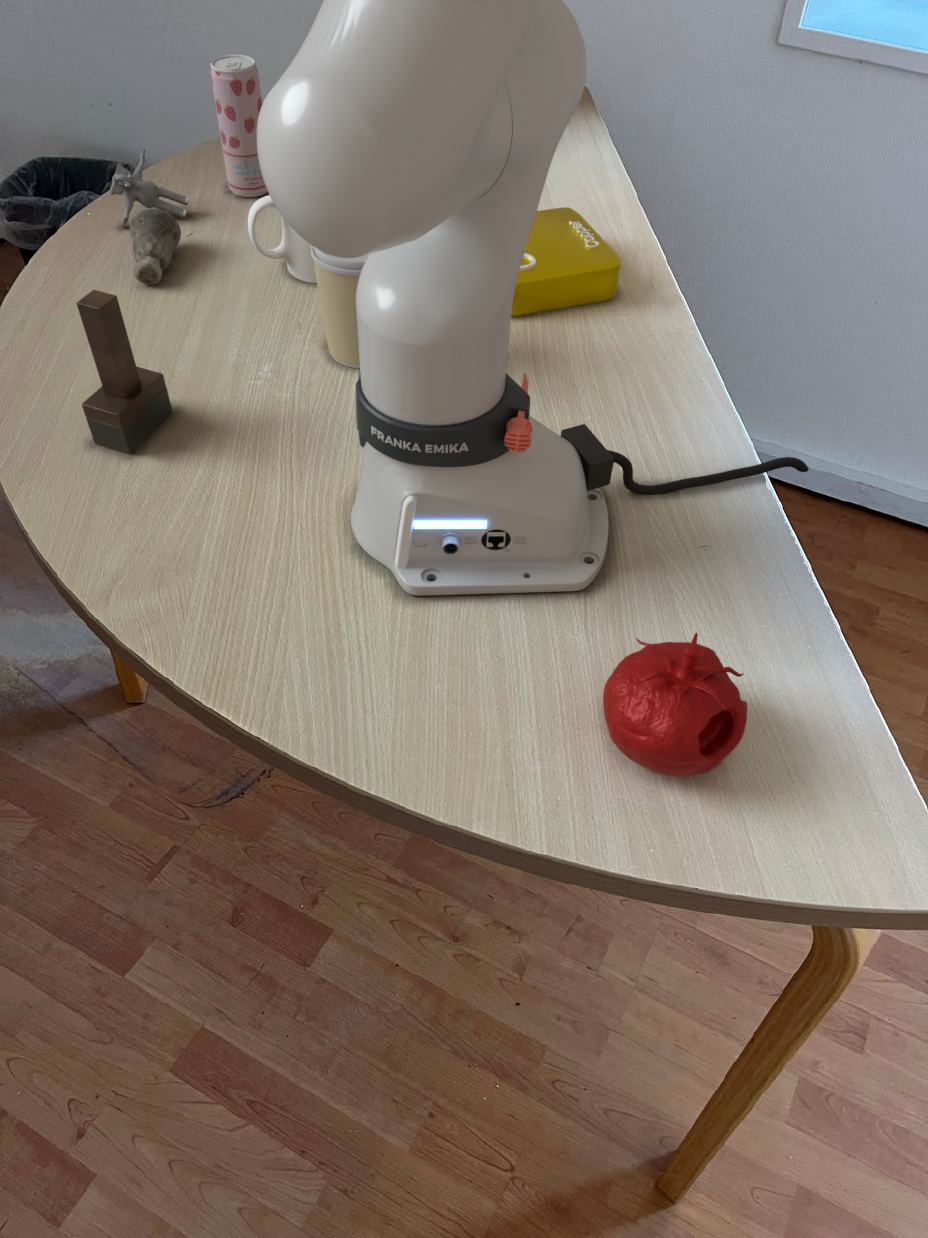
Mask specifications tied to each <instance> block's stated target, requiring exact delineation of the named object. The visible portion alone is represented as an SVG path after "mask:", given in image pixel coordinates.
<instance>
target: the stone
mask: <svg viewBox="0 0 928 1238" xmlns="http://www.w3.org/2000/svg"><path fill="white" fill-rule="evenodd" d="M128 227H129V233H130V236H131V239H132V241H131V242H132V249H133V255H134V259H135V262H136V264H135V266H134V270H133V271H134V272H133V274H134V278H135V279H136V280H137V281H138V282H139V283H141V284H143V285H147V286H154V285H157V284H159V283H160V281H161V280H162V279H163V278H162V277H163V271H164V270H166V268H168V267H169V265H170V264H171V261H172V258H173V254H174V253H173V252H174V250H175V248H176V246H178V244H179V242H180V240H181V236H182V229H181V227H180V224H179V223H178V220H177V219H176V218H175V217H174V216H172V215H171V213H170V212H168V211H165V210H162V209H159V208H146V209H143V210H140V211H138V212H137V213H136V214H135V215H134V216H133V217H132V219H131V221H130V223H129V226H128Z"/></svg>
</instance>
